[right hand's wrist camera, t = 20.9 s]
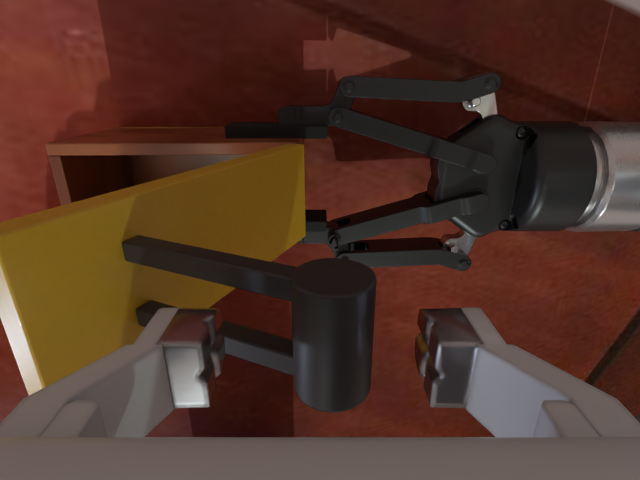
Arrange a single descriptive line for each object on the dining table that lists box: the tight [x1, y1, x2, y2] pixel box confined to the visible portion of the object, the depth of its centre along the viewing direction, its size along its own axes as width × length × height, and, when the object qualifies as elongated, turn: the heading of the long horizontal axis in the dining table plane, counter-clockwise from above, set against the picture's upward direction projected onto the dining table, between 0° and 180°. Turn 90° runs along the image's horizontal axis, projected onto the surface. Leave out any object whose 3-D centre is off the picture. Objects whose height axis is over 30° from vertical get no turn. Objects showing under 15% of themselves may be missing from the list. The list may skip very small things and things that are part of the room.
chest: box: [45, 127, 304, 206], centre depth 28 cm, size 15×6×9 cm, turn 90°
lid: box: [0, 144, 376, 412], centre depth 15 cm, size 16×6×9 cm
